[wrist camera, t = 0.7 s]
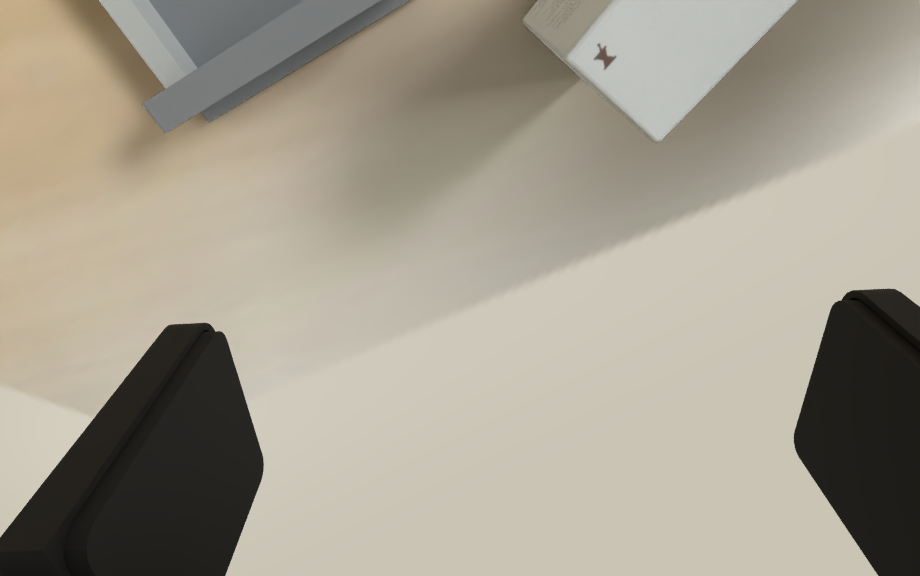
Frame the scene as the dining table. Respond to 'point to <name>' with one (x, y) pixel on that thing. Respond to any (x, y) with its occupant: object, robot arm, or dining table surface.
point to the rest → (231, 46)
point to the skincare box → (652, 49)
